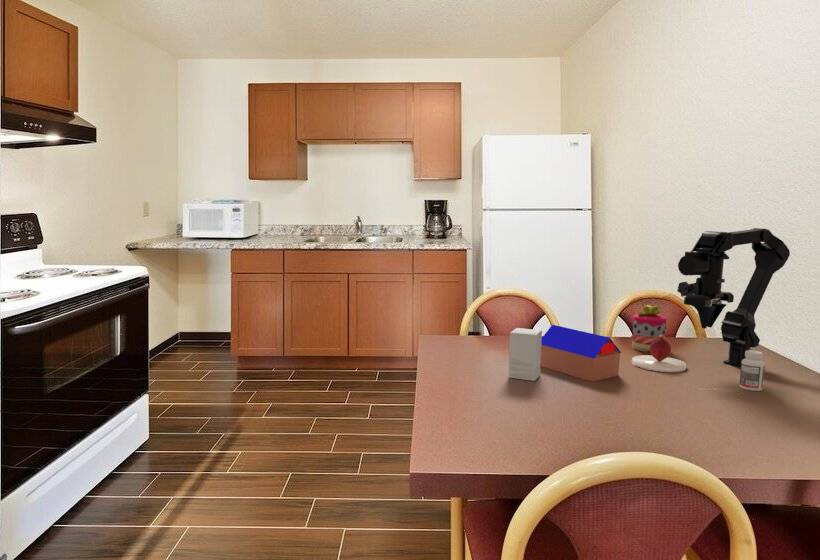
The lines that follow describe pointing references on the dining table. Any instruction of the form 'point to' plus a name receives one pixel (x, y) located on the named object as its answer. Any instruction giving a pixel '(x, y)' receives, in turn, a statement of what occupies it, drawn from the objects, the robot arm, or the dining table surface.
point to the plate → (659, 364)
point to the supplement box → (525, 354)
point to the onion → (660, 348)
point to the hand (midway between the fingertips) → (706, 327)
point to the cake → (647, 328)
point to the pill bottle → (752, 371)
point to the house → (579, 353)
